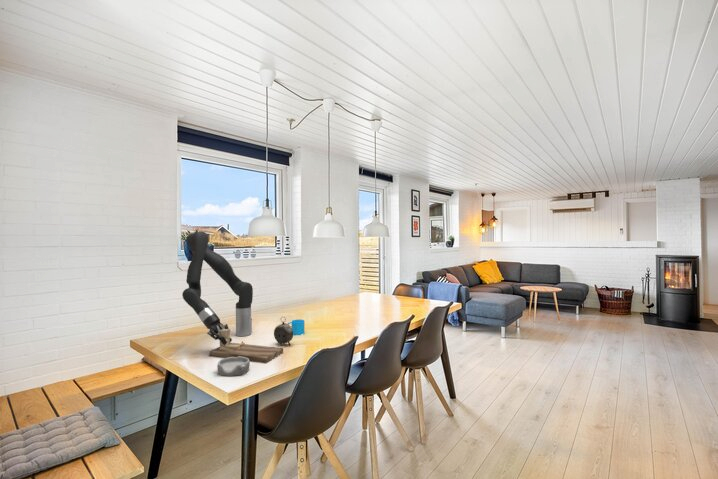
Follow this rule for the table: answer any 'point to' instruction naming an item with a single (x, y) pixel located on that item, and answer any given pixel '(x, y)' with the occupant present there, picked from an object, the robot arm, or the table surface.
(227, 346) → the marking gauge
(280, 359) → the table surface
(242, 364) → the dish
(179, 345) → the table surface
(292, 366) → the table surface
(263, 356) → the walnut board
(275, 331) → the alarm clock
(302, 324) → the mug
